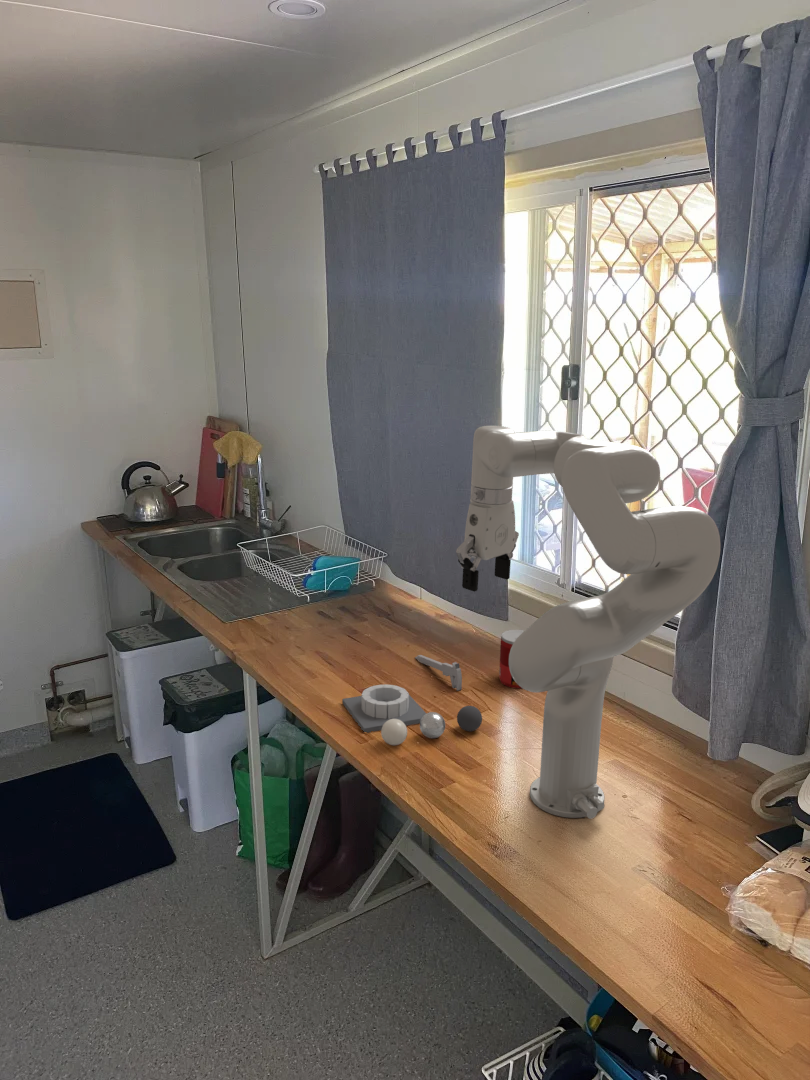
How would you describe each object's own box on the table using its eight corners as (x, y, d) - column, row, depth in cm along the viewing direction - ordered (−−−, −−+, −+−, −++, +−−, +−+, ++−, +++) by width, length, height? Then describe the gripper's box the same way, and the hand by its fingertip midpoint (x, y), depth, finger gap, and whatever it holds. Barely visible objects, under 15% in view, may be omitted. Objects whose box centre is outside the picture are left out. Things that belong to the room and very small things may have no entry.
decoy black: (486, 733, 169) (487, 710, 167) (463, 737, 167) (463, 714, 165) (474, 722, 173) (475, 699, 172) (452, 726, 171) (453, 703, 170)
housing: (429, 721, 173) (429, 703, 172) (364, 733, 168) (364, 714, 167) (403, 693, 186) (404, 676, 185) (342, 703, 181) (342, 685, 179)
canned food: (514, 691, 187) (516, 645, 184) (491, 678, 194) (493, 633, 191) (540, 684, 191) (543, 638, 188) (518, 671, 198) (520, 627, 195)
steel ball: (449, 740, 166) (449, 716, 164) (425, 744, 164) (426, 721, 163) (438, 728, 170) (439, 705, 169) (415, 733, 168) (415, 709, 167)
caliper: (461, 691, 187) (462, 665, 186) (457, 692, 187) (458, 666, 185) (418, 658, 205) (419, 633, 203) (414, 659, 204) (414, 634, 203)
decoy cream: (411, 747, 163) (411, 723, 161) (386, 752, 161) (386, 728, 160) (401, 735, 167) (401, 712, 166) (377, 739, 165) (377, 716, 164)
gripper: (477, 506, 147) (472, 599, 152) (535, 491, 159) (529, 578, 164) (444, 498, 152) (440, 589, 157) (503, 484, 164) (498, 568, 169)
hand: (486, 583), depth 160 cm, fingers open, 9 cm apart
